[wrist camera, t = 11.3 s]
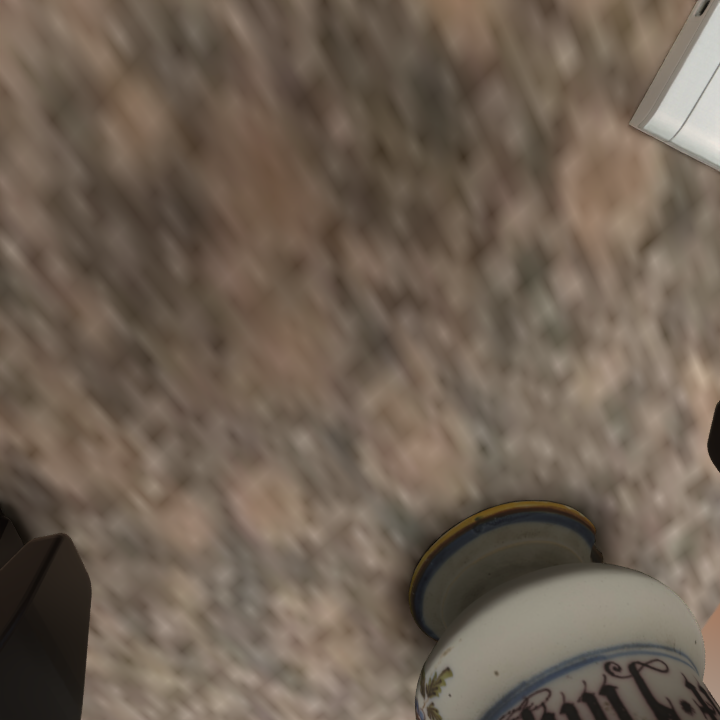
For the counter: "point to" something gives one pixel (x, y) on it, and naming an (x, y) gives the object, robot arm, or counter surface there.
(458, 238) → the counter surface
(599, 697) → the apothecary jar
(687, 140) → the hard drive
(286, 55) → the counter surface
